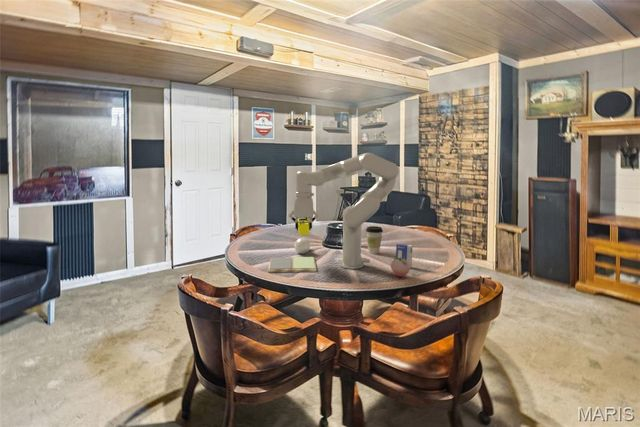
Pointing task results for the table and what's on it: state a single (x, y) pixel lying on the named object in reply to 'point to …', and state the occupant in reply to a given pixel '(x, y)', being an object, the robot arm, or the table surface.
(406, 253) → the blue and white carton
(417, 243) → the table surface
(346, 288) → the table surface
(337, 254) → the table surface
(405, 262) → the decorative fruit
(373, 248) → the coffee cup
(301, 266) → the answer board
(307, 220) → the yellow toy chassis
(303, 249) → the white ovoid
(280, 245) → the table surface
